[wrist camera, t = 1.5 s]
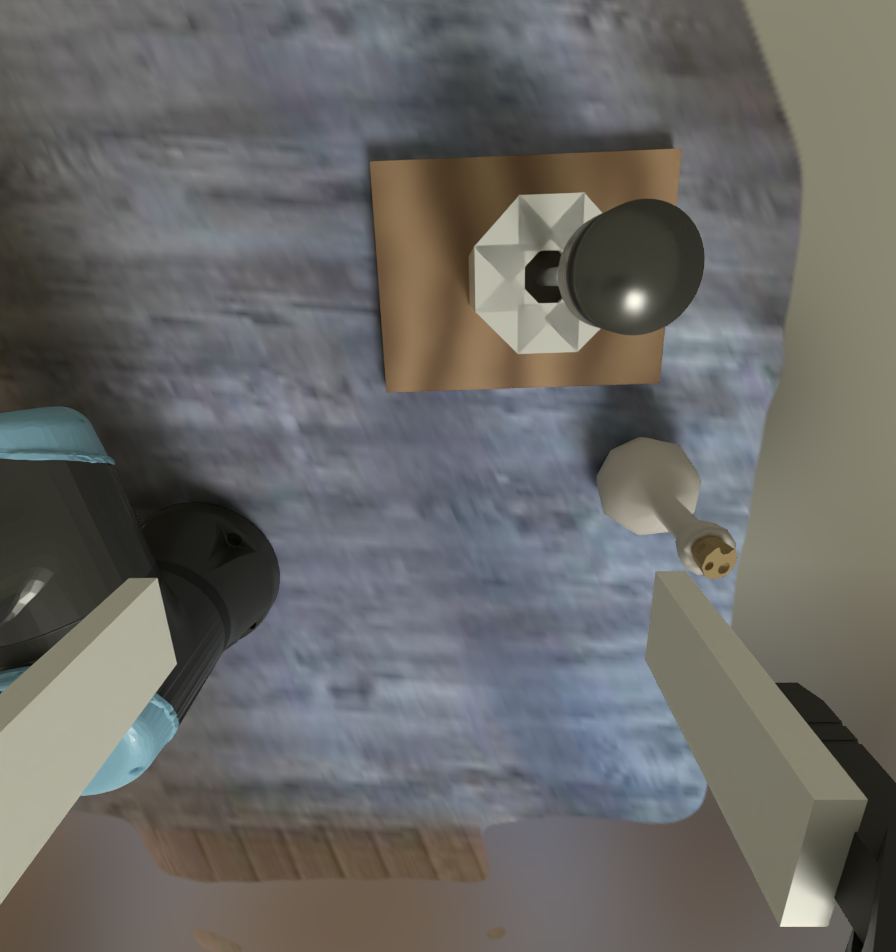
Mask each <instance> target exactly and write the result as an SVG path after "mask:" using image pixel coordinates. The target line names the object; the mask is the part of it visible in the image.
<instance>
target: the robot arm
mask: <svg viewBox="0 0 896 952" xmlns="http://www.w3.org/2000/svg"><path fill="white" fill-rule="evenodd" d="M113 465H115V462H114V459H112V458H111V457H109V456H108V455H107V453H106V451H105V449H104V447H103V446H102V444H101V442H100V440H99V438H98V436H97V434H96V432H95V430H94V428H93V426H92V425H91V423H90V421H89V420H88V419H87V418H86V417H85V416H84V415H83V414H82V413H80V412H78V411H76V410H74V409H71V408H68V407H63V406H51V407H41V408H33V409H26V410H18V411H11V412H4V413H0V904H1V903H2V901H3V900H4V898H5V897H6V896H7V894H8V893H9V892H10V890H11V889H12V887H13V886H14V885H15V884H16V882H17V881H18V879H19V878H20V877H21V875H22V874H23V873H24V871H25V870H26V868H27V867H28V866H29V864H30V863H31V862H32V860H33V859H34V858H35V856H36V855H37V854H38V852H39V851H40V850H41V848H42V847H43V845H44V844H45V843H46V841H47V840H48V839H49V837H50V836H51V835H52V833H53V832H54V830H55V829H56V828H57V826H58V825H59V824H60V822H61V821H62V820H63V818H64V817H65V816H66V814H67V813H68V811H69V810H70V809H71V807H72V806H73V805H74V803H75V802H76V801H77V799H78V798H79V796H86V795H94V794H100V793H105V792H108V791H112V790H115V789H117V788H120V787H122V786H124V785H126V784H128V783H130V782H131V781H133V780H135V779H136V778H137V777H139V776H140V775H141V774H142V773H143V772H144V771H145V770H146V769H147V768H148V767H149V766H150V765H151V763H152V762H153V761H154V759H155V758H156V756H157V755H158V754H159V752H160V751H161V749H162V748H163V747H164V745H165V744H166V743H168V742H169V741H170V740H171V739H172V738H173V736H174V734H175V733H176V731H177V728H178V727H179V725H180V723H181V722H182V720H183V718H184V716H185V715H186V713H187V711H188V710H189V708H190V706H191V705H192V703H193V701H194V700H195V698H196V696H197V695H198V693H199V691H200V690H201V688H202V686H203V684H204V683H205V681H206V679H207V678H208V676H209V674H210V673H211V671H212V669H213V668H214V666H215V664H216V663H217V661H218V659H219V658H220V656H221V654H222V653H223V651H225V650H226V649H227V648H229V647H230V646H232V645H233V644H235V643H236V642H237V641H238V640H240V639H242V638H243V637H245V636H246V635H248V634H249V633H251V632H252V631H253V630H254V629H256V628H257V627H258V626H259V625H260V623H261V622H262V621H263V620H264V619H265V617H266V616H267V614H268V612H269V610H270V609H271V607H272V605H273V603H274V601H275V599H276V597H277V594H278V590H279V584H280V572H279V566H278V562H277V558H276V556H275V553H274V551H273V549H272V547H271V545H270V544H269V542H268V541H267V539H266V538H265V537H264V535H263V534H262V533H261V532H260V531H259V530H258V529H257V528H256V527H255V526H254V525H253V524H252V523H250V522H249V521H248V520H246V519H245V518H243V517H242V516H240V515H238V514H237V513H235V512H233V511H230V510H228V509H225V508H223V507H219V506H216V505H211V504H206V503H183V504H178V505H174V506H170V507H168V508H165V509H163V510H161V511H159V512H157V513H156V514H154V515H153V516H152V517H150V518H149V519H148V520H146V521H145V522H144V523H143V524H141V525H140V524H139V521H138V519H137V517H136V515H135V513H134V510H133V508H132V506H131V504H130V501H129V499H128V497H127V495H126V493H125V490H124V488H123V486H122V484H121V482H120V479H119V477H118V475H117V473H116V470H115V468H114V466H113ZM645 660H646V662H647V664H648V666H649V668H650V670H651V672H652V674H653V676H654V678H655V680H656V682H657V684H658V686H659V688H660V690H661V692H662V694H663V696H664V698H665V700H666V702H667V704H668V706H669V708H670V710H671V712H672V713H673V715H674V717H675V719H676V721H677V723H678V725H679V727H680V729H681V731H682V733H683V735H684V737H685V739H686V741H687V743H688V745H689V747H690V749H691V751H692V753H693V755H694V757H695V759H696V761H697V763H698V765H699V767H700V769H701V771H702V773H703V775H704V777H705V779H706V781H707V783H708V785H709V787H710V789H711V791H712V793H713V795H714V797H715V799H716V801H717V803H718V805H719V807H720V809H721V811H722V813H723V814H724V817H725V819H726V821H727V823H728V824H729V827H730V829H731V830H732V832H733V834H734V836H735V838H736V840H737V842H738V844H739V846H740V848H741V850H742V852H743V854H744V856H745V858H746V860H747V862H748V864H749V866H750V868H751V870H752V872H753V874H754V876H755V878H756V880H757V882H758V884H759V886H760V888H761V890H762V892H763V894H764V896H765V898H766V900H767V902H768V904H769V906H770V908H771V910H772V912H773V914H774V916H775V918H776V920H777V922H778V924H779V926H782V927H791V926H792V927H815V926H816V927H823V926H825V927H827V926H828V925H829V921H830V918H831V915H832V912H833V909H834V906H835V902H836V901H837V903H838V905H839V906H840V908H841V909H842V911H843V913H844V914H845V916H846V917H847V919H848V921H849V922H850V924H851V926H852V927H853V930H852V933H851V936H850V939H849V942H848V945H847V948H846V951H845V952H896V783H895V782H894V780H893V779H892V778H891V777H890V776H889V775H888V774H887V772H886V771H885V770H884V769H883V768H882V767H881V766H880V765H879V763H878V762H877V761H876V760H875V759H874V758H873V757H872V755H871V754H870V753H869V752H868V751H867V750H866V749H865V747H864V746H863V745H862V744H859V743H858V740H857V738H855V736H854V735H853V734H852V733H851V732H850V731H849V730H848V728H847V727H846V726H843V725H842V721H841V720H840V719H839V718H838V717H837V716H836V715H835V713H834V712H833V711H832V710H831V709H830V708H829V707H828V705H827V704H826V703H825V702H824V701H823V700H821V699H820V698H819V697H817V696H816V695H814V694H813V693H811V692H810V691H808V690H807V689H806V688H804V687H803V686H801V685H800V684H798V683H774V681H773V680H772V679H771V678H770V676H769V675H768V674H767V673H766V671H765V670H764V669H763V668H762V667H761V665H760V664H759V663H758V661H757V660H756V659H755V658H754V656H753V655H752V654H751V653H750V651H749V650H748V649H747V648H746V646H745V645H744V644H743V643H742V641H741V640H740V639H739V638H738V637H737V635H736V634H735V633H734V632H733V630H732V629H731V628H730V626H729V625H728V624H727V623H726V621H725V620H724V619H723V618H722V616H721V615H720V614H719V613H718V611H717V610H716V609H715V608H714V606H713V605H712V604H711V603H710V601H709V600H708V599H707V598H706V596H705V595H704V594H703V593H702V591H701V590H700V589H699V588H698V586H697V585H696V584H695V583H694V581H693V580H692V579H691V578H690V576H689V575H688V574H687V573H686V571H657V572H656V573H655V581H654V590H653V598H652V607H651V615H650V623H649V632H648V640H647V649H646V657H645Z"/></svg>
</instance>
